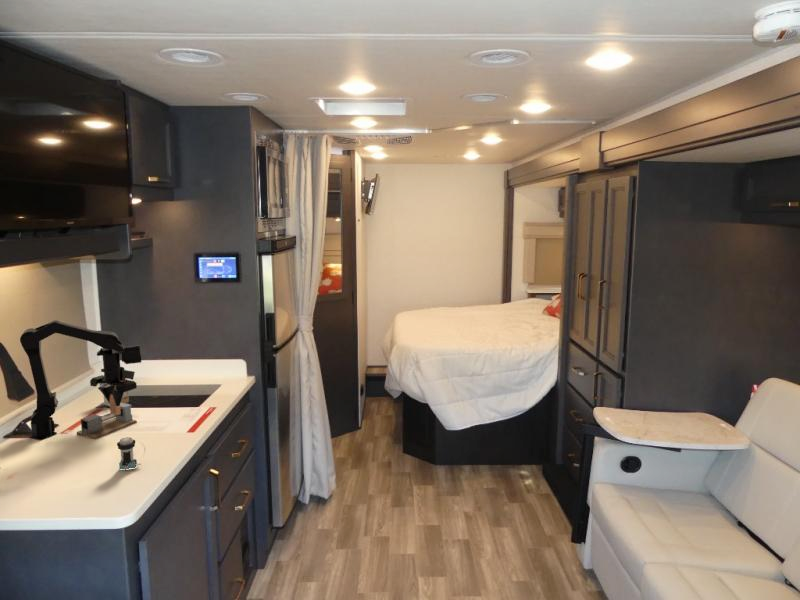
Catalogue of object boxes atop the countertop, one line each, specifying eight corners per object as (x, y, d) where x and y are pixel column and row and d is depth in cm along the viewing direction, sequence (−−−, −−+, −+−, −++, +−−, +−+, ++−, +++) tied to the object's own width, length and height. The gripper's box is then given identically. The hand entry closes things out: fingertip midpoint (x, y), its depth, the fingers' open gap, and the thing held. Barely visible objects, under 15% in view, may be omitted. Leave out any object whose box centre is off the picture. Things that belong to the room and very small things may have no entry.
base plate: (95, 439, 211) (95, 436, 211) (76, 434, 215) (76, 432, 215) (136, 422, 227) (136, 420, 227) (118, 418, 231) (118, 416, 231)
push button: (143, 464, 191) (141, 435, 190) (138, 472, 186) (136, 442, 184) (122, 465, 190) (120, 436, 189) (116, 473, 185) (114, 443, 184)
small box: (110, 407, 244) (108, 383, 242) (103, 404, 247) (101, 380, 246) (129, 402, 250) (127, 378, 249) (122, 399, 254) (120, 376, 252)
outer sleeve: (89, 435, 212) (88, 421, 211) (81, 433, 214) (80, 419, 213) (102, 430, 217) (101, 416, 216) (95, 428, 219) (94, 414, 218)
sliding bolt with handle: (96, 426, 215) (94, 402, 213) (90, 424, 216) (88, 400, 215) (128, 413, 227) (126, 391, 226) (122, 412, 229) (120, 390, 227)
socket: (126, 422, 225) (124, 407, 224) (115, 419, 228) (114, 404, 227) (132, 419, 228) (131, 404, 227) (122, 417, 230) (121, 402, 229)
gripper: (147, 363, 224) (149, 402, 227) (113, 357, 232) (116, 395, 235) (122, 370, 214) (125, 411, 217) (87, 364, 222) (91, 403, 225)
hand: (114, 405), depth 223 cm, fingers closed on sliding bolt with handle, 3 cm apart
